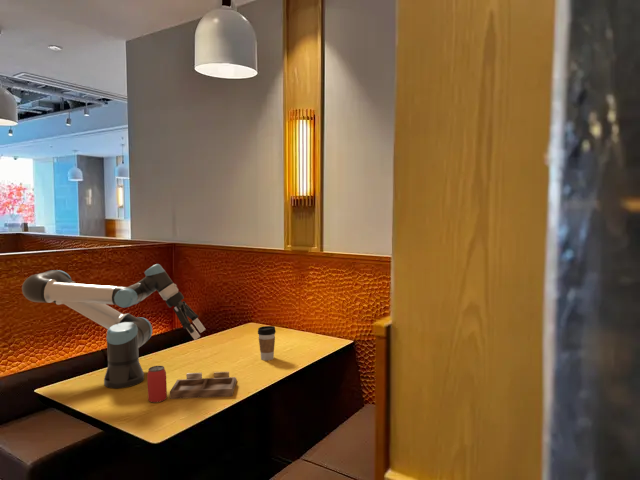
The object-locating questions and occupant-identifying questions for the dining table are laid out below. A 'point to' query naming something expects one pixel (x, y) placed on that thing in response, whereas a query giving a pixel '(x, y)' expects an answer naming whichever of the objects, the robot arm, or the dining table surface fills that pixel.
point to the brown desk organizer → (203, 386)
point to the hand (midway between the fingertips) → (200, 334)
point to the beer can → (157, 384)
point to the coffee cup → (267, 342)
